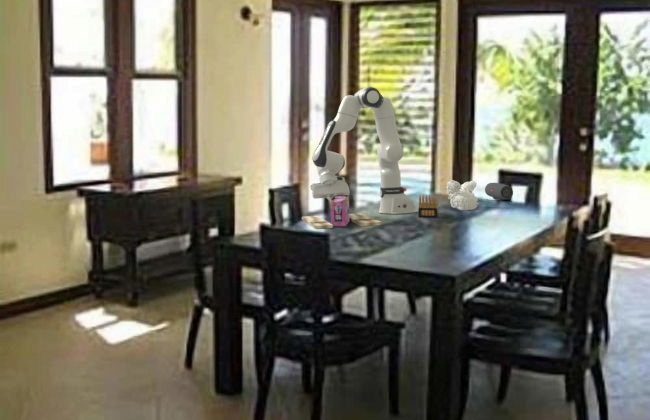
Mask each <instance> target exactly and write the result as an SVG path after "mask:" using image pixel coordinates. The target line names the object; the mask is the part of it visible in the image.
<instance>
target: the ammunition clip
mask: <svg viewBox="0 0 650 420" xmlns="http://www.w3.org/2000/svg"><path fill="white" fill-rule="evenodd" d="M438 202H439V201H438V196H437V195H435V196H434V195H433V194H432V195H430V194H429V195H427V194H426V195H425V196H424V194H422V196H421V194H419V195H418V208H417V209H418V212H417V214H418V216H417V217H418V218H420V219H421V218H424V219H425V218H427V219H429V218H430V219H432V218H433V219H434V218H435V219H437V218H439V203H438Z"/></svg>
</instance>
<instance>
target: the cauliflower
mask: <svg viewBox="0 0 650 420" xmlns="http://www.w3.org/2000/svg"><path fill="white" fill-rule="evenodd" d="M477 185H478V183H477V182H476V181H475V180H469V181H466V182H464V183H463V184H460V182H459V181H456V180H454V179H450V180H449V181H447V183H446V190H447V195H448V196H447V199H448V200H450V202H449V204H450V205H451V208H454V209H457V210H460V211H473V210H476V209H477V207H478V205H479V202H478V201H479V199H478V198H477V197H476V196H475V193H474V192H473V193H472V191H474V190H475V189H476V187H477Z"/></svg>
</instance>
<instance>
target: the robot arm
mask: <svg viewBox="0 0 650 420" xmlns="http://www.w3.org/2000/svg"><path fill="white" fill-rule="evenodd" d="M362 108H363V109H370V108H371V110H373V113H374V120H375V128H376V134H377V136H378V139H379V142H380V144H379V145H378V147H377V149H376V156H377V158H378V159H377V160H378V165H379V171H380V172H379V174H380V188H379V197H380V204H379V210H378V213H380V214H389V215H390V214H393V215H399V214H401V215H402V214H410V213H418V208H417V207H416V204H415V200H414V199H413V198H411V197H410V196H408V195H407V194H406V193H405V192H407V191H408V190H407V188H406V187H403V186H401V185H402V182H401V179H402V178H401V170H400V165H399V163H398V162H399V161H400V160H402V159H403V157H404V149H403V147H402V143H401V140H400V137H399V132H398V127H397V121H396V117H395V111H394V105H393V103H392V100H391V99H390V97H389V98H388V97H387V96H386V97H385V96H383V95H382V94H381V92H380V91H379V90H378V89H377V88H376V87H373V86H370V87H369V86H367V87H363V88H360V89H358V90H357V91H356V92H354V94H352V95H350V94H348V95H345V96H344V97H343V98H342V101H341V103H340V105H339V107H338V110H337V113H336V116H335V117H334V119H332V120H331V121H330V122H329V123H328V124H327V126H326V128H325V130H324V132H323V134H322V136H321V138H320V141H319V142H318V143H319V144H318V146H317V147H316V149H315V150H314V152H313V154H312V156H311V160H312V162H313V164H314V166H315V167H316V168H317V169H316V171H317V175H318V177H319V182H318V183H312V184H311V185H310V190H311V191H312V193H311V194H312V198H313V199H327V200H328V201H329V203H330V204H331V199H332V198H333V197H334V196H335V195H349V196H350V192H351V191H350V187H349V185H348V183H347V182H346V180H345V179H346V178H345V177H343V176H338V175H336V174H338V173H340V172H341V171H342V170H343V169H344V167H346V166H345V165H346V164H345V163H346V159H345V157H344V155H343V154H341V153H337V152H335V151H331V150H328V148H329V146H330V144H331V141H332V139H333V137H334V136H335V135H336V134H339V133H344V132H345V133H346V132H349V131H351V130H353V129H354V128H355V126H356V123H357V120H358V117H359V112H360V111H361V109H362Z"/></svg>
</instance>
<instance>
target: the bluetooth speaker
mask: <svg viewBox="0 0 650 420" xmlns="http://www.w3.org/2000/svg"><path fill="white" fill-rule="evenodd" d="M484 193H485V194H486V195H487V196H489V197H491V198H492V199H493V200H496V201H505V200H509V199H511V198H513V195H514V191H513V188H512V187H511V186H510V185H507V184H504V183H500V182H489V183H487V184H486V186H485V187H484Z"/></svg>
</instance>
